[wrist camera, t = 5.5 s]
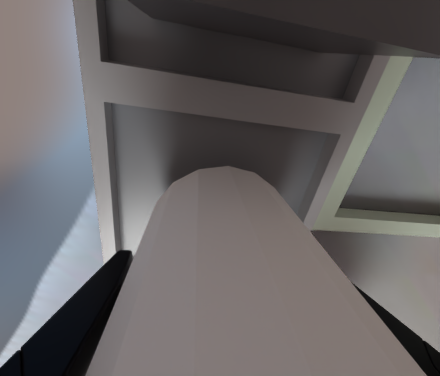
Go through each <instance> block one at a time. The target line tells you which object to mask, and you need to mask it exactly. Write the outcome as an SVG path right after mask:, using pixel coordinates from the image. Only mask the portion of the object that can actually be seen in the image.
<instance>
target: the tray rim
mask: <svg viewBox="0 0 440 376" xmlns="http://www.w3.org/2000/svg"><path fill="white" fill-rule="evenodd" d="M412 59H413V57H403V56H391V57H390V59H389V61H388V63H387V65H386V68H385V70H384V72H383V74H382V76H381V79H380V81H379V83H378V85H377V87H376V90H375V92H374V94H373V96H372V98H371V101H370V103H369V105H368V107H367V109H366V112H365V114H364V116H363V118H362V120H361V123H360V125H359V127H358V129H357V131H356V134H355V136H354V138H353V140H352V142H351V145H350V147H349V149H348V151H347V153H346V156H345V158H344V160H343V162H342V164H341V167H340V169H339V171H338V173H337V175H336V178H335V180H334V182H333V184H332V186H331V189H330V191H329V193H328V195H327V197H326V200H325V202H324V204H323V206H322V208H321V211H320V213H319V215H318V217H317V219H316V222H315V224H314V226H313V228H312V230H323V231H340V232H357V233H373V234H390V235H407V236H423V237H440V216H435V215H423V214H410V213H397V212H384V211H372V210H359V209H346V208H339V206H340V204H341V202H342V200H343V198H344V196H345V194H346V192H347V190H348V188H349V186H350V184H351V182H352V180H353V178H354V176H355V174H356V172H357V170H358V168H359V166H360V164H361V162H362V160H363V158H364V156H365V154H366V152H367V150H368V148H369V146H370V144H371V142H372V140H373V138H374V136H375V134H376V132H377V130H378V128H379V126H380V124H381V122H382V120H383V118H384V115H385V113H386V111H387V109H388V107H389V105H390V103H391V101H392V99H393V97H394V95H395V93H396V91H397V89H398V87H399V85H400V83H401V81H402V79H403V77H404V75H405V73H406V71H407V69H408V67H409V65H410V63H411V61H412Z"/></svg>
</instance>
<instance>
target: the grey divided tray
mask: <svg viewBox="0 0 440 376" xmlns="http://www.w3.org/2000/svg"><path fill="white" fill-rule="evenodd" d="M73 6H74V15H75V23H76V32H77V41H78V49H79V58H80V66H81V75H82V83H83V92H84V100H85V109H86V118H87V126H88V134H89V143H90V151H91V160H92V169H93V177H94V186H95V194H96V203H97V211H98V220H99V228H100V237H101V245H102V254H103V262H104V264H105V263H106V262H107V261H108V260H109V259H110V258H111V257H112V256H113V255H114V254H115V253H116V252H117V251H119V250H131V251H132V256H133V258H134V256H135V253H136V251H137V249H138V246H139V244H140V241H141V239H142V236H143V234H144V231H145V229H146V227H147V224H148V222H149V219H150V217H151V214H152V212H153V210H154V207H155V205H156V202H157V201H158V200H159V199H160V197H161V196H162V195H163V194H164V193H165V191H166V190H167V189H168V188H169V187H170V185H171V184H172V183H173V182H175V181H177V180H179V179H181V178H183V177H184V176H186V175H188V174H190V173H192V172H194V171H196V170H198V169H205V168H214V167H223V166H231V167H234V168H238V169H242V170H246V171H250V172H254V173H256V174H257V175H259V176H260V177H261V178H263V179H264V180H265V181H266V182H268V183H269V184H270V185H272V186H273V187H274V188H275V189H276V190H277V191H278V193H279V194H280V195H281V196H282V198H283V199H284V200H285V201H286V203H287V204H288V205H289V206H290V208H291V209H292V210H293V211H294V212H295V214H296V215H297V216H298V217H299V219H300V220H301V221H302V222H303V224H304V225H305V226H306V227H307V228H308V230H309V231H310V232H311V230H312V228H313V226H314V224H315V222H316V219H317V217H318V215H319V213H320V211H321V208H322V206H323V204H324V202H325V200H326V197H327V195H328V193H329V191H330V189H331V186H332V184H333V182H334V180H335V178H336V175H337V173H338V171H339V169H340V167H341V164H342V162H343V160H344V158H345V156H346V153H347V151H348V149H349V147H350V145H351V142H352V140H353V138H354V136H355V134H356V131H357V129H358V127H359V125H360V123H361V120H362V118H363V116H364V114H365V112H366V109H367V107H368V105H369V103H370V101H371V98H372V96H373V94H374V92H375V90H376V87H377V85H378V83H379V81H380V79H381V76H382V74H383V72H384V70H385V68H386V65H387V63H388V61H389V59H390V57H391V56H403V57H425V58H440V0H73Z"/></svg>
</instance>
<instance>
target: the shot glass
mask: <svg viewBox="0 0 440 376" xmlns="http://www.w3.org/2000/svg"><path fill="white" fill-rule="evenodd" d="M86 376H427V375H426V374H425V373H424V372H423V370H422V369H421V368H420V367H419V365H418V364H417V363H416V362H415V360H414V359H413V358H412V357H411V355H410V354H409V353H408V352H407V351H406V349H405V348H404V347H403V346H402V344H401V343H400V342H399V341H398V339H397V338H396V337H395V336H394V335H393V333H392V332H391V331H390V330H389V328H388V327H387V326H386V325H385V323H384V322H383V321H382V320H381V318H380V317H379V316H378V315H377V314H376V312H375V311H374V310H373V309H372V307H371V306H370V305H369V304H368V302H367V301H366V300H365V299H364V298H363V296H362V295H361V294H360V293H359V291H358V290H357V289H356V288H355V286H354V285H353V284H352V283H351V282H350V280H349V279H348V278H347V277H346V275H345V274H344V273H343V272H342V270H341V269H340V268H339V267H338V265H337V264H336V263H335V262H334V261H333V259H332V258H331V257H330V256H329V254H328V253H327V252H326V251H325V249H324V248H323V247H322V246H321V245H320V243H319V242H318V241H317V240H316V238H315V237H314V236H313V235H312V233H311V232H310V231H309V230H308V228H307V227H306V226H305V225H304V224H303V222H302V221H301V220H300V219H299V217H298V216H297V215H296V214H295V212H294V211H293V210H292V209H291V208H290V206H289V205H288V204H287V203H286V201H285V200H284V199H283V198H282V196H281V195H280V194H279V193H278V191H277V190H276V189H275V188H274V187H273V186H272V185H270V184H269V183H268V182H266V181H265V180H264V179H263V178H261V177H260V176H259V175H257V174H256V173H254V172H250V171H246V170H242V169H238V168H234V167H231V166H223V167H214V168H205V169H198V170H196V171H194V172H192V173H190V174H188V175H186V176H184V177H183V178H181V179H179V180H177V181H175V182H173V183H172V184H171V185H170V187H169V188H168V189H167V190H166V191H165V193H164V194H163V195H162V196H161V197H160V199H159V200H158V201H157V202H156V205H155V207H154V210H153V212H152V214H151V217H150V219H149V222H148V224H147V227H146V229H145V231H144V234H143V236H142V239H141V241H140V244H139V246H138V249H137V251H136V253H135V256H134V258H133V261H132V263H131V266H130V268H129V271H128V273H127V275H126V278H125V280H124V283H123V285H122V288H121V290H120V293H119V295H118V297H117V300H116V302H115V305H114V307H113V310H112V312H111V315H110V317H109V319H108V322H107V324H106V327H105V329H104V332H103V334H102V336H101V339H100V341H99V344H98V346H97V349H96V351H95V354H94V356H93V358H92V361H91V363H90V366H89V368H88V371H87V373H86Z"/></svg>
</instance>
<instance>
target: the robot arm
mask: <svg viewBox="0 0 440 376" xmlns="http://www.w3.org/2000/svg"><path fill="white" fill-rule="evenodd" d="M132 261H133V256H132V251H131V250H119V251H117V252H116V253H115V254H114V255H113V256H112V257H111V258H110V259H109V260H108V261H107V262H106V263H105V264H104V265H103V266H102V267H101V268H100V269H99V270H98V271H97V272H96V273H95V274H94V275H93V276H92V277H91V278H90V279H89V280H88V281H87V282H86V283H85V284H84V285H83V286H82V287H81V288H80V289H79V290H78V291H77V292H76V293H75V294H74V295H73V296H72V297H71V298H70V299H69V300H68V301H67V302H66V303H65V304H64V305H63V306H62V307H61V308H60V309H59V310H58V311H57V312H56V313H55V314H54V315H53V316H52V317H51V318H50V319H49V320H48V321H47V322H46V323H45V324H44V325H43V326H42V327H41V328H40V329H39V330H38V331H37V332H36V333H35V334H34V335H33V336H32V337H31V338H30V339H29V340H28V341H27V342H26V343H25V344H24V345H23V346H22V347H21V350H18V351H17V352H16V353H15V354H14V355H13V356H12V357H11V358H10V359H9V360H8V361H7V362H6V363H5V364H4V365H3V366H2V367H1V368H0V376H86V373H87V371H88V368H89V366H90V363H91V361H92V358H93V356H94V354H95V351H96V349H97V346H98V344H99V341H100V339H101V336H102V334H103V332H104V329H105V327H106V324H107V322H108V319H109V317H110V315H111V312H112V310H113V307H114V305H115V302H116V300H117V297H118V295H119V293H120V290H121V288H122V285H123V283H124V280H125V278H126V275H127V273H128V271H129V268H130V266H131V263H132ZM351 283H352V282H351ZM352 284H353V283H352ZM353 285H354V284H353ZM354 286H355V285H354ZM355 288H356V289H357V290H358V291H359V293H360V294H361V295H362V296H363V298H364V299H365V300H366V301H367V302H368V304H369V305H370V306H371V307H372V309H373V310H374V311H375V312H376V314H377V315H378V316H379V317H380V318H381V320H382V321H383V322H384V323H385V325H386V326H387V327H388V328H389V330H390V331H391V332H392V333H393V335H394V336H395V337H396V338H397V339H398V341H399V342H400V343H401V344H402V346H403V347H404V348H405V349H406V351H407V352H408V353H409V354H410V355H411V357H412V358H413V359H414V360H415V362H416V363H417V364H418V365H419V367H420V368H421V369H422V370H423V372H424V373H425V374H426V375H427V376H440V353H439V352H438V351H437V350H436V349H434V348H433V347H432V346H431V345H429V344H428V343H427V342H426V341H423V340H422V338H421V337H419V336H418V335H417V334H416V333H414V332H413V331H412V330H411V329H409V328H408V327H407V326H405V325H404V324H403V323H402V322H400V321H399V320H398V319H397V318H395V317H394V316H393V315H392V314H390V313H389V312H388V311H387V310H385V309H384V308H383V307H382V306H380V305H379V304H378V303H377V302H375V301H374V300H373V299H372V298H370V297H369V296H368V295H367V294H365V293H364V292H363V291H362V290H360V289H359V288H358V287H357V286H355Z"/></svg>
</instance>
